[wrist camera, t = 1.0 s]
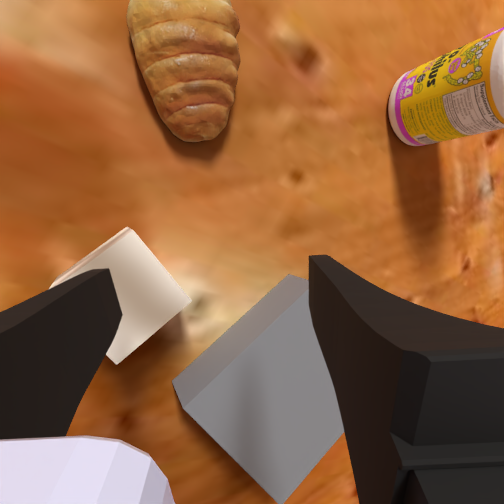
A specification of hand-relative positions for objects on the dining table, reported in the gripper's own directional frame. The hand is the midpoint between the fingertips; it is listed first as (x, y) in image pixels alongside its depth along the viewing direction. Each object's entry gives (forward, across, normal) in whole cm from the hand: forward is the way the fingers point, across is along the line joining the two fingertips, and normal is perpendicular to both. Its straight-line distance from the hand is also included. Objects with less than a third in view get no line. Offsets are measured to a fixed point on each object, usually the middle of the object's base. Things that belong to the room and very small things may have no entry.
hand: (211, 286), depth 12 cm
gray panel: (+10, -2, +15) cm, 18 cm away
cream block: (+8, +7, +4) cm, 12 cm away
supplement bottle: (+23, -17, -4) cm, 29 cm away
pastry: (+15, +2, -9) cm, 17 cm away
